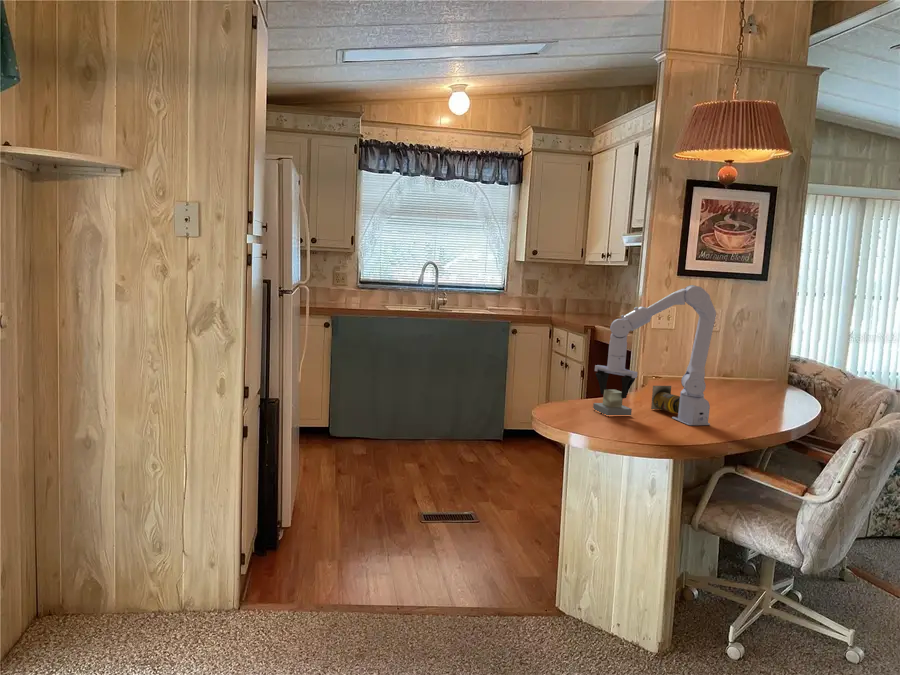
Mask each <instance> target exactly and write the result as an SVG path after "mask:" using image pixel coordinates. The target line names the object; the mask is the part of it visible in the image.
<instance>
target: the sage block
mask: <svg viewBox="0 0 900 675" xmlns="http://www.w3.org/2000/svg"><path fill="white" fill-rule="evenodd" d="M602 395H603V397H602V403H603V405H605V406H608V407H610V408H615V407H622V405H623V398H622V397H621V395H622V390H621V391H620V390H617V389H606V390H604V394H602Z"/></svg>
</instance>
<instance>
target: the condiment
mask: <svg viewBox="0 0 900 675" xmlns="http://www.w3.org/2000/svg"><path fill="white" fill-rule="evenodd" d="M679 402H680V395H676V394H673V393H672V385H652V395H651V404H650V405H651V408H650V409H661V411H664V412H668V413H672V414H678V411H679Z"/></svg>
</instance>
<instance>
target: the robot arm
mask: <svg viewBox="0 0 900 675" xmlns="http://www.w3.org/2000/svg"><path fill="white" fill-rule="evenodd" d="M686 304H687V305H688V306H690V307H692V308H693V310H694V311H695V312H696V314H697V315H698V320H697V325H696V330H695V336H694V339H693V345H692V349H691V354H690V359H689V361H688V362H689V363H688V365H687V367H686V371H685V373H684V374H683V375H682V377H681V380H680V381H681V382H680V383H681V386H682V387H683V388H682V389H681V391H680V392H679V393H680V394H679V397H680V402H679V411H678V413H677V416H672V417H671V418H672V420H676V421H678V422H680V423H683V424H685V425H687V426H710V425H711V423H710V422H709V417H710V408H711V407H710V402H709V401H708V400H707V399H706V398H705V394H704V392H705V391H706V385H707V384H706V382H705V376H706V371H705V370H706V364H707V359H708V354H709V350H710V349H709V348H710V345H711V341H712V335H713V332H714V327H715V322H716V317H717V311H716V309H715V306H714V304H713V302H712V300H711V296H710V293H708V291H706V290H705V289H704V288H703V287H701V286H700V285H699V286H697V285H694V284H692V285H691V284H690V285H688V286H687V285H686V286H685V287H684V288H680V289H678V290H676V291H674V292H672V293H670V294H667V295H666V296H665V297H663V298H661V299H660V300H657V301H656V302H654V303H653V304H650V305H649V306H648V307H644V306H639V307H638V306H635V307H634V308H633V310H632V311H630V312H628V313H626V314H622V315H620V318H616V319H614V320H613V321H612V322H611V323H610V326H609V329H610V332H611V333H610V336H609V343H608V353H607V355H608V356H607V364H606V365H601V364H597V365H596V364H595V365H594V372H595V377H596V379H597V381H598V386H599V391H600V394H601V395H604V390H607V383H608V379H609V376H610V374H612V375H617V376H622V377H621V378H620V379H621V392H622V395H621V397H622V398H623V399H626V398H627V397H628V395H629V391H630V388H631V387H632V385H633V384H634V382H635V380H636V379H637V378H638V371H634V370H631V369H627V368H626V360H627V351H628V350H627V348H628V335H629V333H630V332H631V331H632V332H633V331H635V330H637V329H639V328H642V327H643V326H645V325H646V324H648V323H650V322H651V319H652V317H653V316H655V315H657V314H659V313H661V312H662V311H665V310H667V309H669V308H671V307H673V306H677V305H681V306H684V305H686Z"/></svg>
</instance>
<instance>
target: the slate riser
mask: <svg viewBox="0 0 900 675" xmlns="http://www.w3.org/2000/svg"><path fill="white" fill-rule="evenodd" d="M593 408H594V409H595V410H597V411H599V412H601V413H603V414H606V415H631V416H632V412H633V411H632V410H633V409H632V408H630V407H629V406H626V405H623V404H622V407H615V408H610V407H608V406H605V405H603V402H593V405H592V409H593Z"/></svg>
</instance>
